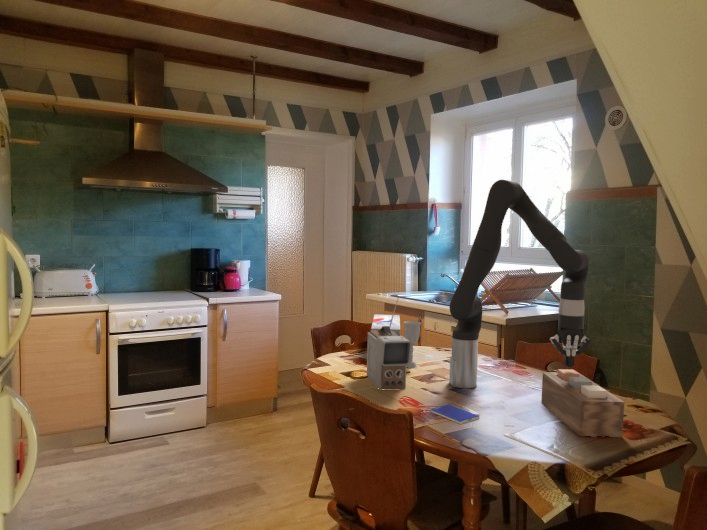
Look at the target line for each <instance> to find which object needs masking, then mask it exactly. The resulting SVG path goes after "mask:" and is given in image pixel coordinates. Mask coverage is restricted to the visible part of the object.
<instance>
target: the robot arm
mask: <svg viewBox="0 0 707 530" xmlns="http://www.w3.org/2000/svg"><path fill="white" fill-rule="evenodd" d="M488 191H489V192H488V195H487V199H486V204H485V208H484V210H483V215H482V218H481V221H480V224H479V226H478V229H477V233H476V235H475V237H474V240H473V242H472V246H471V249H470V252H469V255H468V257H467V261H466V264H465V267H464V268H463V272H462V275H461V277H460V280H459V283H458V285H457V287H456V288H455V291H454V293H453V296H452V297H451V299H450V302H449V313H450V315H451V317H452V318H453V319H455V320H457V323H456V325H455V327H454V328H453V330H452V333H451V334H452V336H451V356H450V357H449V379H448V381H449V384H450V386H451V387H453V388H458V389H459V388H460V389H474V388H476V387H477V383H478V382H477V381H478V357H479V356H478V355H479V353H478V352H479V335H480V332H481V330H482V323H483V322H482V321H483V319H482V318H483V302H482V300H481V297H479V296H478V294H477V293H478V291H479V288H480V287H481V285H482V284H483V281H484V280H485V279H486V278H487V276H488V275H489V274H490V272H491V271H492V269H493V268H494V265H495V263H496V261H497V259H498V256H499V253H500V251H501V247H502V246H501V245H502V228H503V223H504V219H505V217H506V215H507V212H508V210H509V209H510V210H511V211H512V212H514V213H515V214H517V215H518V217H519V218H521V220H522V221H523V222H524V223H525V225H526V227H527V228H528V230H529V231H530V233H531V234H532V235H533V237H534V238H535V240H536V241H538V243H539V244H540V245H541V246H542V247H544V249H545V250H547V251H548V253H549V254H550V256H551V257H552V259H553V260H554V262H555V263H556V264H557V266H558V267H559V268H560V269H562V270H563V271H564V272H565V274H564V279H563V281H562V282H561V285H560V297H559V298H560V299H559V304H558V322H557V324H558V327H557V330H556V334H555V335H554V336H551V337H549V341H550V342H551V344H552V345H553V346H554V348H555V349H556V351H557V352H558V353H559V354H561V355H563V365H564V366H565V368H566V369H572V368H573V367H574V366H575V358H576V356H577V355H581V354H582V353H583V352H584V350H586V348H587V347H588V346H589V345H590V344H591V343H592V340H591V339H590V338H588V337H587V336H585V332H584V329H585V328H584V327H585V284H586V281H587V276H588V273H589V265H590V264H589V262H590V261H589V258H588V255H587V253H586V252H584V251H583V250H580V249H574V248H573V247H572V246H571V244H569V242H568V240H567V237H566V235H565V234H564V233H563V231H561V230H560V229H559V228H558V227H557V226H556V225H554V223H553V222H552V221H550V219H549V218H547V217H546V216H545V215H544V214H543V212H542V211H541V210H540V209H539V208H538V207H537V206H536V205H535V203H534V202H533V201H532V199H531V198H530V197H529V195H528V194H527V192H526V191H525V190H524V188H523V186H521V184H520V183H518V181H515V180H511V179H503V178H501V179H498V180H496V181H495V182H494V183H493V184H492V185H491V187H490V188H489V190H488ZM559 342H561V343H562V346H561V345H560V343H559Z"/></svg>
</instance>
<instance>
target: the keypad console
mask: <svg viewBox="0 0 707 530" xmlns="http://www.w3.org/2000/svg"><path fill="white" fill-rule="evenodd" d="M578 373H579V374H580V376H579V377H586V376H584V375H583V374H581V373H580V372H578ZM557 374H558V371H557V372H556V371H555V372H552V371H549V372H547V371H546V372H545V371H543V372H542V378H541V379H542V380H541V382H542V384H541V401H540V402H541V403H542V405H544V406H545V407H546V408H547V409H548V410H550V411H551V413H553V414H554V415H555V416H556V417H557V418H558V419H560V421H561V422H562V423H564V424H565V425H566V426H567V427H568V428H569V429H570V430H571V431H572V432H574V433H575V434H576V435H577V436H578V437H579V436H591V437H590V438H598V437H597V436H602V437H601V438H606V437H605V436H609V437H608V438H623V434H624V433H623V429H624V418H625V416H624V414H625V401H623V400H622V399H621V398H619V397H618V396H616V395H614V394H612V393H611V392H610V391H608V390H606V389H605V388H603V387H602V386H600V385H599V384H597V383H595V382H594V381H592V380H591V379H589V378H588V377H586V378H587V379H589V380H590V381H592V386H600V387H601V388H603V389H604V390H606V398H587V397H585V396H584V395H582V394H581V389H574V388H573V387H571V386H570V385H569V380H562V379H560V378H559V377H558V376H557Z"/></svg>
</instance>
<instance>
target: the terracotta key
mask: <svg viewBox="0 0 707 530" xmlns="http://www.w3.org/2000/svg"><path fill="white" fill-rule="evenodd" d="M557 373H558V374H557V376H558V377H559V378H560V379H562V380H569V377H579V376H580V374H581V373H580V372H578V371H577V370H575V369H572V368H566V369H563V368H560V369H559V368H558V369H557ZM579 373H580V374H579Z"/></svg>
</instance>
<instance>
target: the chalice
mask: <svg viewBox="0 0 707 530" xmlns="http://www.w3.org/2000/svg"><path fill="white" fill-rule="evenodd" d="M403 324H404V334H403V335H404V338H406V339H407V340H409V341H410V342H411V343H412V347H411V357H410V363H409V365H407V366H406V367H408V368H407V369H416V367H417V368H418V365H417V363H416V361H415V360H414V359H413V357H414V353H413V352H414V346H416V344H417V342H418V340H419V338H420V335H421V325H422V322H420V321H413V320H412V321H411V320H409V321H403Z"/></svg>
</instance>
